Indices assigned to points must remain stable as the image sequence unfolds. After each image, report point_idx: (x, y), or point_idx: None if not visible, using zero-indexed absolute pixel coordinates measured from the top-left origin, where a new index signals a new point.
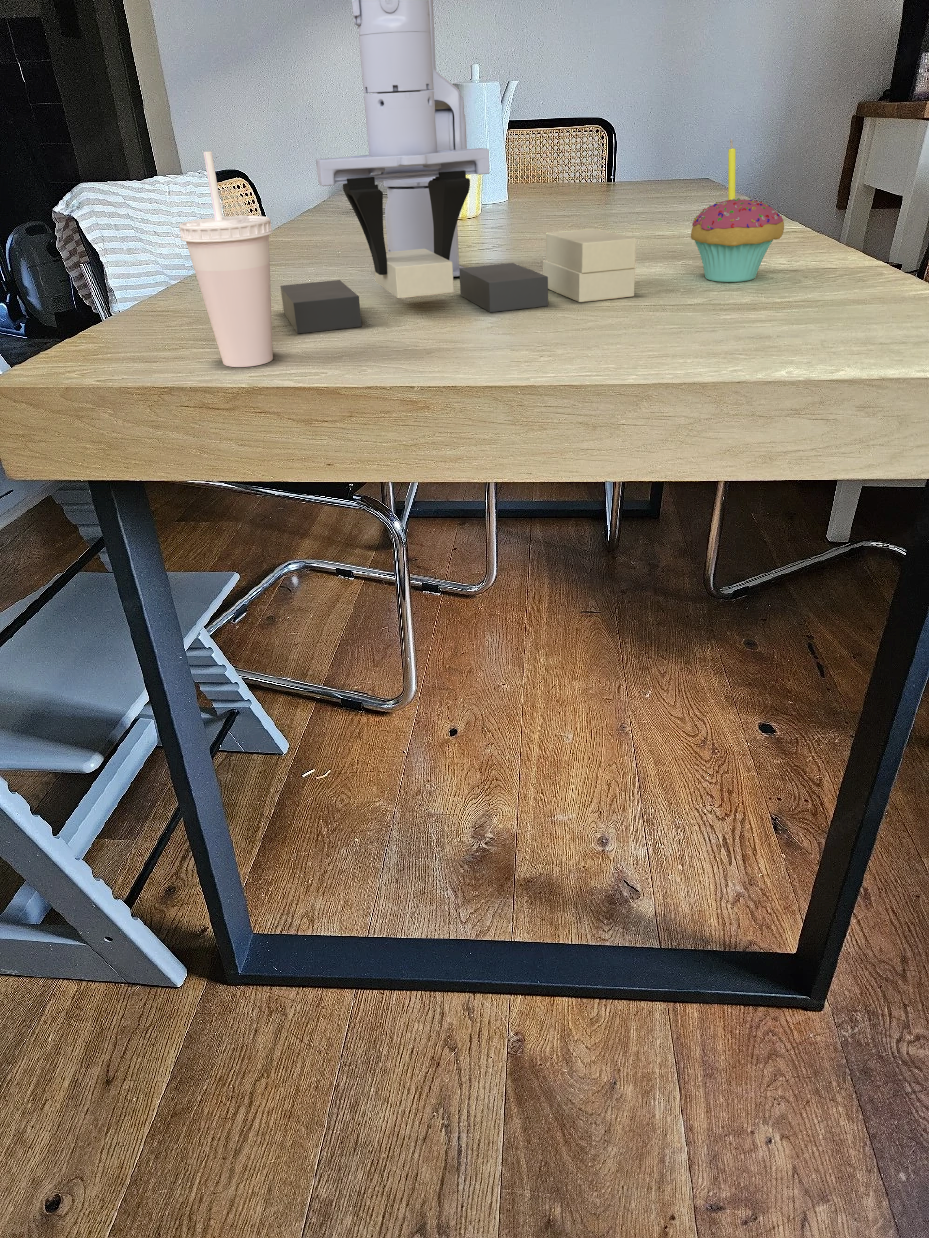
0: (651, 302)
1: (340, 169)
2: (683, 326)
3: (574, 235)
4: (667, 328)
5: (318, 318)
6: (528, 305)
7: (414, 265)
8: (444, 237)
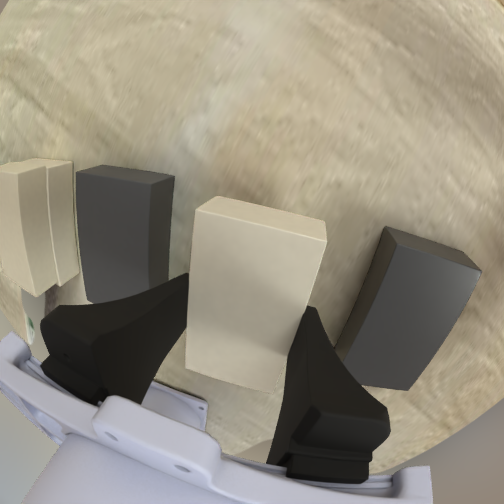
0: (35, 122)
1: (391, 498)
2: (72, 7)
3: (15, 246)
4: (84, 2)
5: (447, 250)
6: (121, 168)
7: (281, 231)
8: (166, 295)
